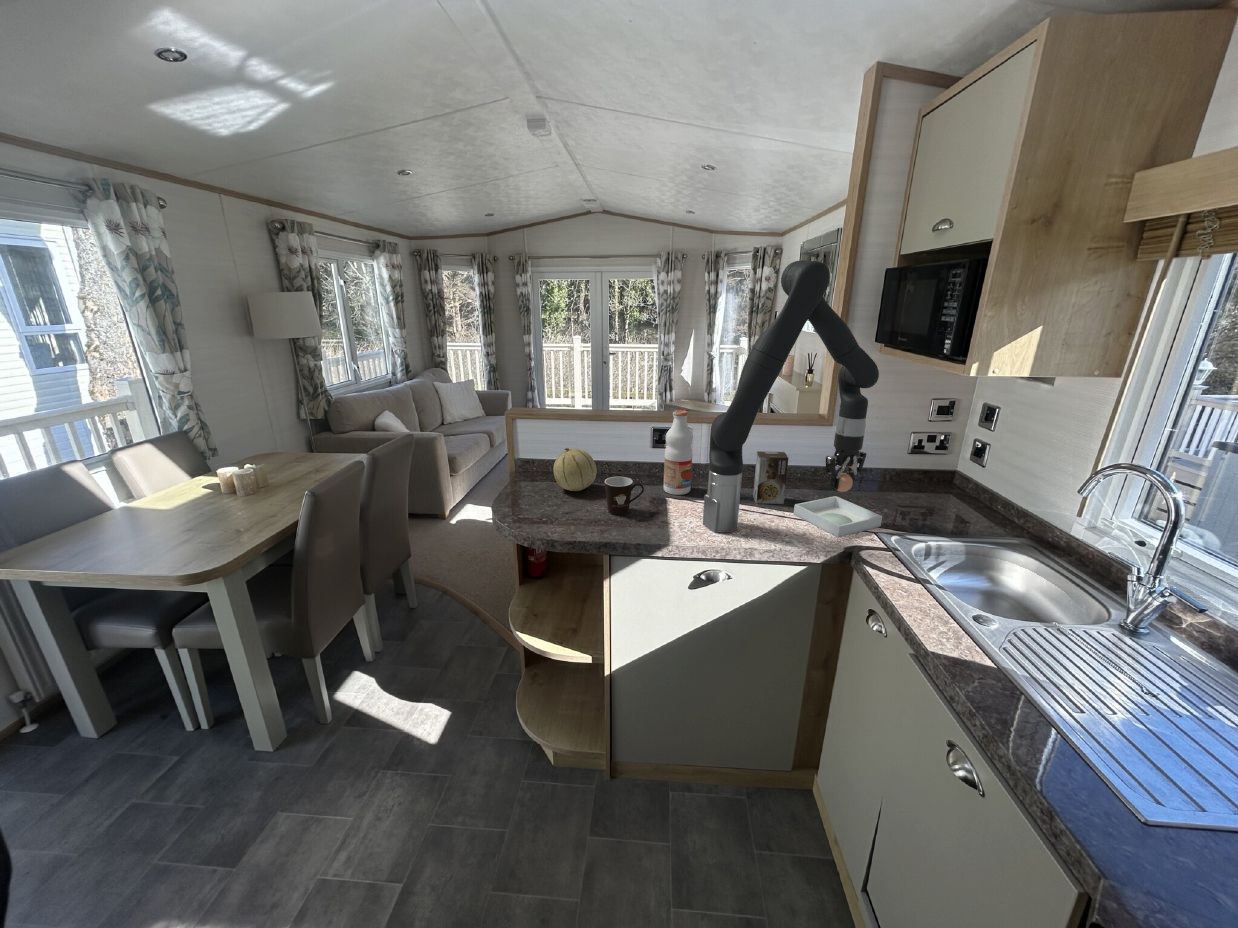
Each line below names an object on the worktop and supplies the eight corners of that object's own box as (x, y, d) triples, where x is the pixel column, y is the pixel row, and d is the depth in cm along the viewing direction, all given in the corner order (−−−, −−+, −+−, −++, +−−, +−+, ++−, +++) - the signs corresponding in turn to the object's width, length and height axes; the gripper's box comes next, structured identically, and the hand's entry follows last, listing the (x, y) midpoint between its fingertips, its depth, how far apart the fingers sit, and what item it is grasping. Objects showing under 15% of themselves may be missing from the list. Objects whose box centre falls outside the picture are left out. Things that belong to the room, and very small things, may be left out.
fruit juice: (666, 484, 179) (669, 407, 170) (692, 487, 176) (696, 409, 167) (660, 493, 170) (663, 413, 161) (688, 496, 168) (692, 415, 159)
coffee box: (779, 497, 168) (785, 451, 163) (784, 504, 162) (789, 457, 157) (752, 496, 169) (756, 450, 164) (755, 503, 163) (760, 456, 158)
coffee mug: (601, 515, 153) (601, 484, 150) (608, 504, 161) (608, 475, 158) (638, 519, 150) (639, 488, 147) (643, 508, 158) (644, 478, 155)
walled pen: (837, 537, 139) (839, 526, 138) (793, 514, 154) (794, 504, 153) (880, 526, 146) (882, 516, 145) (834, 505, 161) (835, 496, 160)
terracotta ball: (841, 495, 144) (844, 477, 142) (827, 489, 148) (829, 472, 147) (855, 492, 146) (858, 475, 144) (840, 486, 151) (843, 469, 149)
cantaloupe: (598, 496, 167) (598, 454, 163) (554, 498, 165) (552, 455, 161) (594, 481, 181) (594, 441, 176) (553, 483, 179) (552, 443, 175)
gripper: (842, 438, 135) (833, 495, 141) (879, 432, 141) (869, 488, 146) (820, 431, 142) (813, 487, 147) (857, 426, 148) (848, 480, 153)
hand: (841, 487), depth 147 cm, fingers closed on terracotta ball, 5 cm apart
